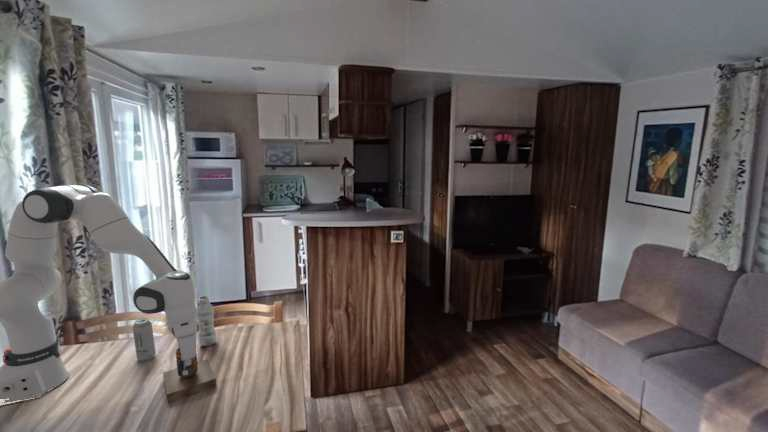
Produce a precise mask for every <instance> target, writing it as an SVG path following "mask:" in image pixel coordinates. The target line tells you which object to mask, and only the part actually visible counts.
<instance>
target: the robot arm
mask: <svg viewBox="0 0 768 432" xmlns="http://www.w3.org/2000/svg"><path fill="white" fill-rule="evenodd" d="M74 220H77V221H79V222H81V223H82V224H83V225H84V227H85V228H86V230H87V232H88V233H89V235H90V236H91V238H92V240H93V241H94V243H95V244H96V245H97V246H98V247H99V248H100V249H102V250H103V251H105V252H107V253H111V254H119V255H121V254H123V255H131V256H134V257H136V258H139V259H140V260H141V261H142V262H143V263H144V264H145V265H146V266H147V268H148V269H149V270H150V271H151V273H152V274H153V275H154V277H155V279H153V280H152V281H148V282H147V283H145V284H143V285H141V286H140V287H138V288H137V289H135V291H134V292H133V294H132V295H133V296H132V301H133V304H134V306H135V308H136V310H138V311H139V312H140V313H142V314H148V315H151V314H159V313H162V312H164V313H165V320H166V327H167V328H166V329H167V330H168V331H169V332H170V333H171V334H172V335H173V337H174V339H176V341H177V346H178V345H179V347H178V348H179V349H180V352H181V356H182V359H183V360H184V361H185V365H186V366H188V365H191V359H192V358H195V356H196V355H197V335H196V334H198V333H199V329H198V319H197V306H196V304H195V303H196V302H195V301H196V290H195V285H194V281H193V277H192V276H191V275H190V274H189V273H188V272H186V271H183V270H178V269H177V268H175V267H174V265H172V263H171V262H170V261H169V259H168V258H167V257H166V256H165V255H164V253H163V252H162V251H161V249H160V248H158V246H157V245H156V244H155V243H154V241H153V240H152V238H150V237H149V236H148V235H145V234H144V233H143V232H141V231H140V230H139V229H138V228H137V227H136V226H135V225H134V223H133V222H132V221H131V219H130V218H129V215H127V213H126V212H125V210H124V209H123V208H122V206H121V205H120V204H119V203H118V202H117V201H116V200H115V199H114V198H113V196H112V195H110V194H109V193H106V192H100V191H99V190H98V189H97V188H95V187H93V186H91V185H87V184H62V185H56V186H50V187H40V188H35V189H33V190H31V191H29V192H27V193H26V194H25V195H24V196H23V198H22V200H21V201H20V202H18V203H17V205H16V207H15V209H14V212H13V214H12V216H11V219H10V223H9V225H8V232H7V239H6V245H5V252H4V256H5V258H6V259H7V260H8V261H10V262H12V264H13V267H14V270H13V272H12V273H13V274H12V275H11V276H10V277H6V278H5V279H3V280H0V324H1V325H2V327H3V328H4V330H5V331H6V332H5V333H6V335H7V336H6V337H7V340H8V344H9V347H7V348H5V350H4V351H3V356H2V357H3V358H2V362H3V364H2V365H1V366H0V399H7V398H9V400H5V402H6V403H7V402H13V401H17V400H24V399H30V398H37V397H39V396H41V397H43V396H44V395H46V394H47V393H48V392H49V391H48V390H50V389H52V388H54V387H55V386H57V385H59V384H61V383H62V382H64V381H65V380H66V379H67V377H68V375H69V376H70V373H69V371H67V369H66V366H65V364H64V362H63V360H62V357H61V353H62V351H61V346H60V342H59V339H58V338H57V335H56V329H55V325H54V320H53V318H52V317H51V316H50V315H48V314H43V313H42V311H41V309H40V307H39V302H41V301H43V300H45V299H46V298H48V297H50V296H51V295H53V294H54V293H55V292H56V291H57V289H59V288H60V286H61V285H62V283H63V276H62V274H61V272H60V271H59V270H58V269H57V268H55V263H54V250H55V249H54V248H55V243H56V237H57V233H58V232H57V231H58V230H57V229H58V225H59V223H61V222H68V221H69V222H70V221H74ZM68 378H69V377H68ZM67 380H68V379H67ZM67 380H66V381H67ZM66 381H65V382H66ZM65 382H64V383H65ZM62 384H63V383H62ZM62 384H61V385H62ZM59 386H60V385H59ZM54 389H55V388H54ZM52 390H53V389H52ZM47 391H48V392H47ZM50 391H51V390H50ZM46 392H47V393H46ZM45 393H46V394H45ZM43 394H44V395H43ZM33 395H34V396H33ZM42 395H43V396H42ZM37 399H38V398H37ZM5 402H4V403H5Z"/></svg>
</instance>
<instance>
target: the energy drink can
mask: <svg viewBox="0 0 768 432" xmlns="http://www.w3.org/2000/svg"><path fill="white" fill-rule="evenodd" d="M132 334H133V340H134V341H133V342H134V347H135V354H136V359H137V360H138V361H139V362H142V363H143V362H147V361H150V360H152V359H154V357H155V355H156V347H155V346H156V345H155V339H154V330H153V323H152V321H150V319H149V318H147V317H145V318H140V319H136V320H134V322H133V325H132Z"/></svg>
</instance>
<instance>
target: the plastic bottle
mask: <svg viewBox="0 0 768 432" xmlns="http://www.w3.org/2000/svg"><path fill="white" fill-rule="evenodd" d="M198 304H199V305H198V306H196V309H197V319H198V323H197V325H198V338H197V339H198V345H200V346H201V347H209V346H210V347H211V346H213V345H214V344H215V343H216V342H217V339H218V337H217V333H216V329H215V326H214V325H215V324H214V323H215V321H214V319H215V317H214V316H215V308H214V305H212V304H211V303H210V297H209V296H207V295H203V296H199V297H198Z"/></svg>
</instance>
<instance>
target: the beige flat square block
mask: <svg viewBox="0 0 768 432" xmlns="http://www.w3.org/2000/svg"><path fill="white" fill-rule="evenodd" d="M197 363H198V364H197V366H198V370H197V372H196V373H195V374H194V375H192V376H190V377H180V376H179V375H178V370H177V368H174V369H171V370H167V371H162V372H163V373H162V377H163V383H164V387H165V393H166V399H167V403H168V404H170V403H172V402H176V401H179V400H182V399H184V398H187V397H189V396H193V395H196V394H199V393H201V392H205V391H207V390H210V389H213V388H216V387H217V380H216V376H215V374H214V372H213V369H212V367H211V364H210V362H209V360H208V359H204V360H200V361H197Z"/></svg>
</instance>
